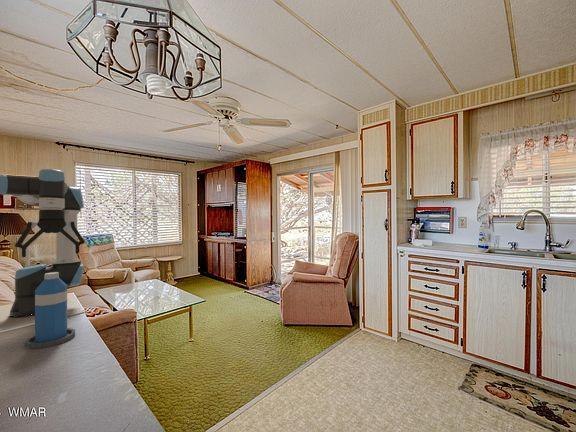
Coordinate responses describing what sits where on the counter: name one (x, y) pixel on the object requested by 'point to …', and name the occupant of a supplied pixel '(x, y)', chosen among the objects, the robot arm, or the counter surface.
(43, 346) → the coaster ring
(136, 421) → the counter surface
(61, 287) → the water bottle
